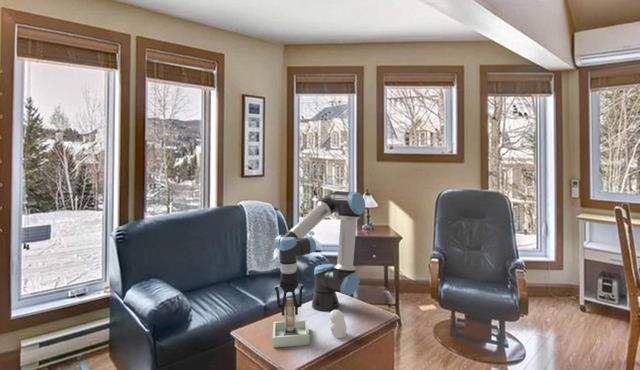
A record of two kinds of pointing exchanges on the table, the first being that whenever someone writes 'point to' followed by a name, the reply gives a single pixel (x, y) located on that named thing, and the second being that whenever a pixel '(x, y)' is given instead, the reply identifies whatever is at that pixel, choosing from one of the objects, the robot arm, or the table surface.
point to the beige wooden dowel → (289, 314)
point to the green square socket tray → (290, 334)
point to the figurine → (337, 324)
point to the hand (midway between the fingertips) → (290, 321)
